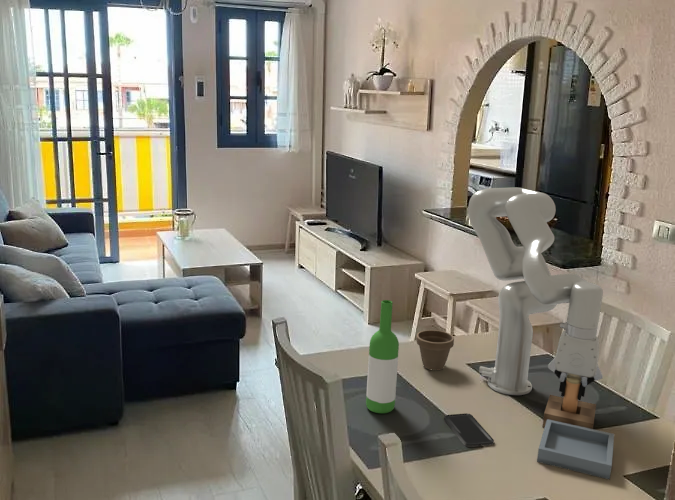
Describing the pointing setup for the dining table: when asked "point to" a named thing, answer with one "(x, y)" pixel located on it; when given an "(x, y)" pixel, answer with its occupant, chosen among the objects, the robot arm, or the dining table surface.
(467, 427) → the phone
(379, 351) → the wine bottle
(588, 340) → the robot arm
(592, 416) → the pin block
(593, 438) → the tray
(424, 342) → the flower pot
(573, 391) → the peg
